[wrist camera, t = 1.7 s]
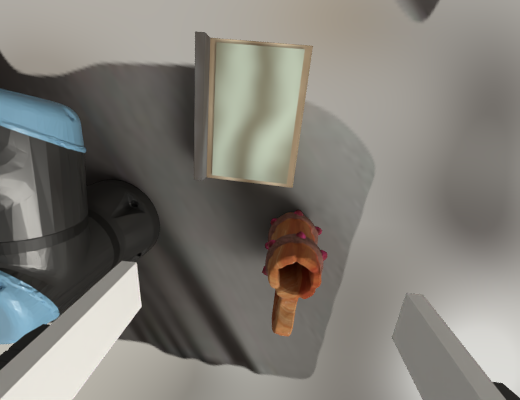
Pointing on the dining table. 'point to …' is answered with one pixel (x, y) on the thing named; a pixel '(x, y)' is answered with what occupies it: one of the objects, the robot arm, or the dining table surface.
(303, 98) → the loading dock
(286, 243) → the mug
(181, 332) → the dining table surface
